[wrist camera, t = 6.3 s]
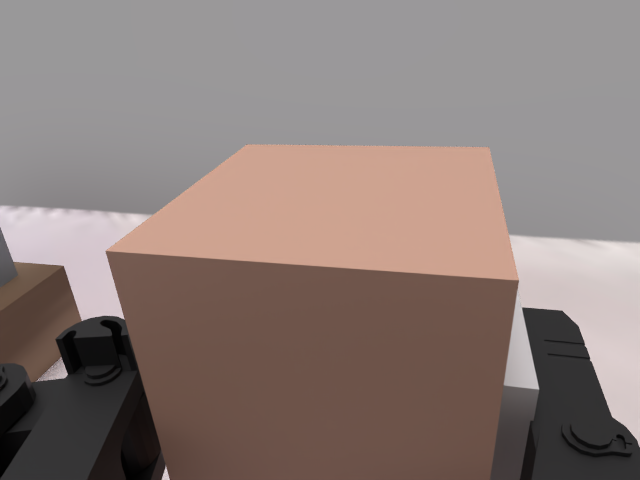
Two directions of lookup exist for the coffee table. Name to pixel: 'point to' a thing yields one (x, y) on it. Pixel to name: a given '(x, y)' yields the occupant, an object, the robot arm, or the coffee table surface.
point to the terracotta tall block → (325, 315)
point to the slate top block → (6, 263)
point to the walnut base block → (35, 316)
